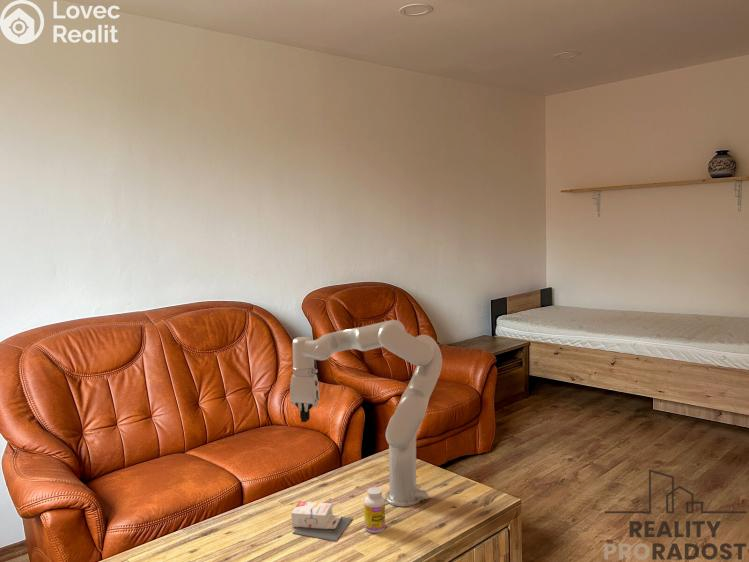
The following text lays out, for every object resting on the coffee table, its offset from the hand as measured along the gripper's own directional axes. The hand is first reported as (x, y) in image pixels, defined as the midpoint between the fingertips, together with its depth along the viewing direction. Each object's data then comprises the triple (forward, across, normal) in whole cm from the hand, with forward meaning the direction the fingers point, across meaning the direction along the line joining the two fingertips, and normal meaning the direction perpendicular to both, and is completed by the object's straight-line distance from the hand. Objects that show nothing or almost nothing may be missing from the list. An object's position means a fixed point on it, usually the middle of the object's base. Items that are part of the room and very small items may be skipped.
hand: (305, 420), depth 208 cm
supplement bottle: (+27, -32, +16) cm, 45 cm away
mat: (+27, -16, +20) cm, 37 cm away
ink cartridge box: (+24, -5, +20) cm, 32 cm away
